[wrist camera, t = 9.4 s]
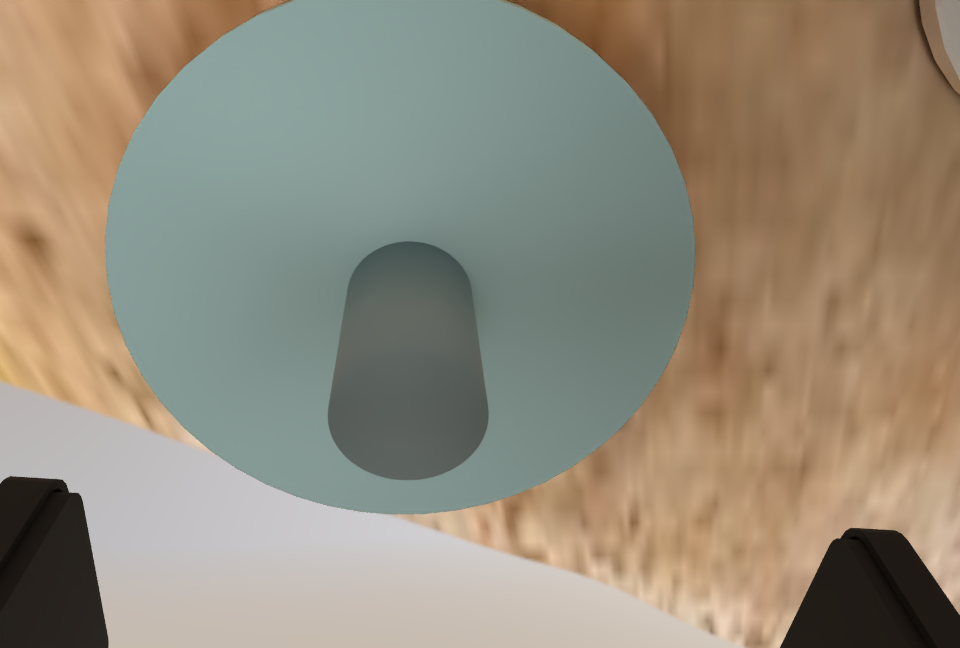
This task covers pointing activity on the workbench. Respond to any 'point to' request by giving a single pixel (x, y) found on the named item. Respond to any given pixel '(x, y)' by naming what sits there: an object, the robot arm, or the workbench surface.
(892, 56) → the workbench surface
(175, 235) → the lid
